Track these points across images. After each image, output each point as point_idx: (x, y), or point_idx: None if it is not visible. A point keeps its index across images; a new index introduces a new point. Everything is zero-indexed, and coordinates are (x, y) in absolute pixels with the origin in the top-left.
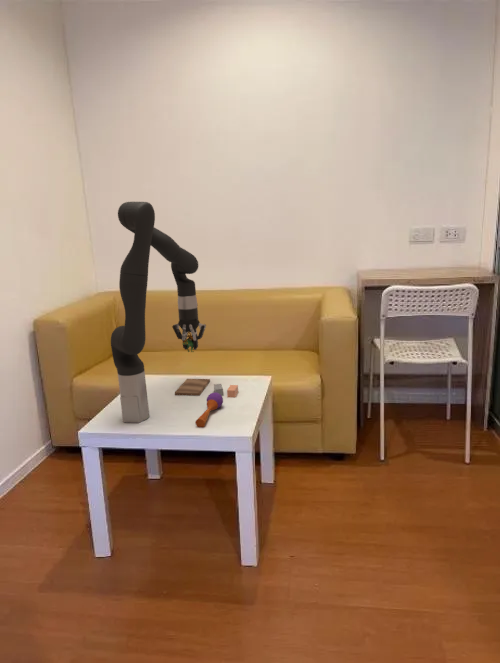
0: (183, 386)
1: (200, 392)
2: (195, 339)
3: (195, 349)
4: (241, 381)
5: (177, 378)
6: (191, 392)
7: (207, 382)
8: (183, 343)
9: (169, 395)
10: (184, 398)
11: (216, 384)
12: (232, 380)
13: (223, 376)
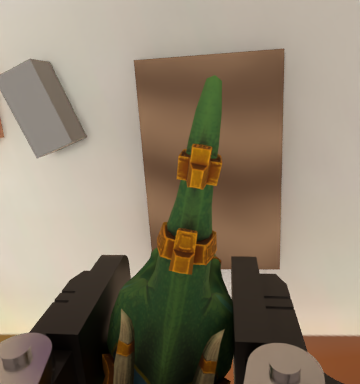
0: (261, 151)
1: (138, 85)
2: (5, 351)
3: (104, 258)
4: (12, 269)
5: (345, 301)
6: (180, 59)
7: (150, 225)
8: (197, 113)
9: (315, 44)
10: (208, 7)
11: (56, 144)
12: (57, 280)
13: None
